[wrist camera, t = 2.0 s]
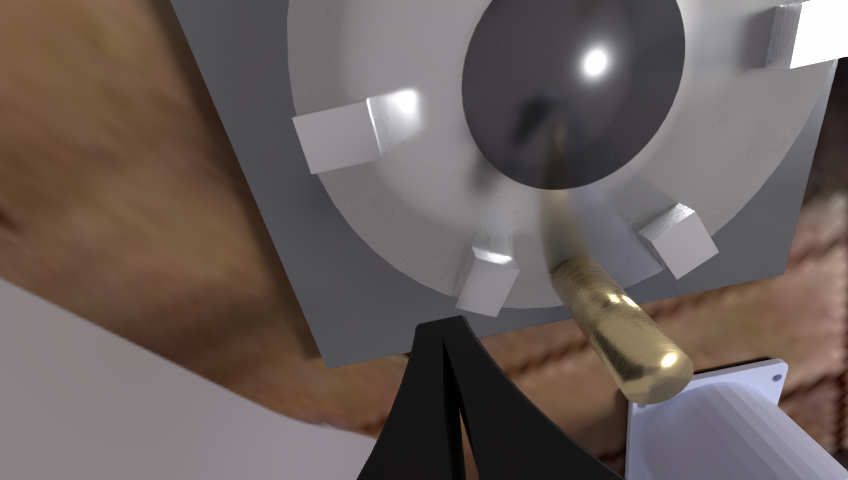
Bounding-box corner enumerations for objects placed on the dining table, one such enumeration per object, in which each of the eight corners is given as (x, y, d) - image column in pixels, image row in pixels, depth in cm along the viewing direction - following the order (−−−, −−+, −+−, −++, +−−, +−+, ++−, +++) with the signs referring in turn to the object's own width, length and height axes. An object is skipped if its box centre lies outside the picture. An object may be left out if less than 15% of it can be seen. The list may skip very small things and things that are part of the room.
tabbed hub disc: (727, 228, 15) (956, 349, 9) (376, 302, 15) (365, 468, 9) (817, -316, 9) (1769, -1142, 3) (226, -172, 9) (-105, -614, 3)
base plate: (763, 262, 17) (785, 275, 16) (330, 353, 18) (326, 370, 17) (934, -509, 8) (1006, -583, 8) (67, -287, 9) (26, -330, 8)
